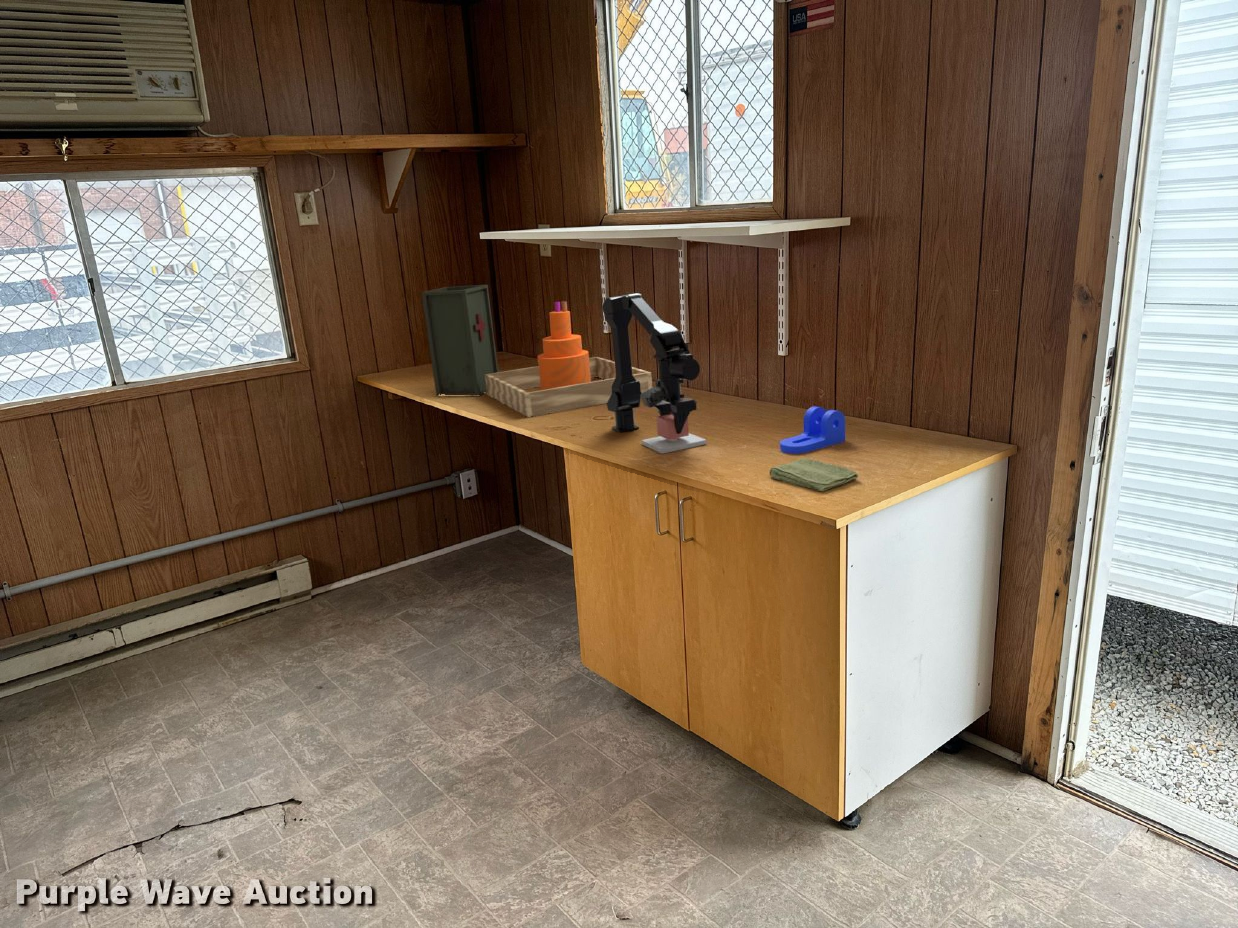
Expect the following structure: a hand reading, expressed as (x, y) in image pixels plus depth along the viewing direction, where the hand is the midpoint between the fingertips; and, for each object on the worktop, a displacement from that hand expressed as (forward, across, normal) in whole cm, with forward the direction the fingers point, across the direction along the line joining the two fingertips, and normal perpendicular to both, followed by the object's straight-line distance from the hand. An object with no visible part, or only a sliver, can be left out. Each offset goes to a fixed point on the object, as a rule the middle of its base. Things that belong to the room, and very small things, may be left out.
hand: (672, 431), depth 233 cm
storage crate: (+4, -85, +2) cm, 85 cm away
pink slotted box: (+1, 0, 0) cm, 1 cm away
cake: (+4, -85, +2) cm, 85 cm away
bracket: (+4, +25, +27) cm, 37 cm away
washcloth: (+4, +48, +11) cm, 49 cm away
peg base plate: (+4, 0, 0) cm, 4 cm away
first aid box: (+4, -122, -25) cm, 125 cm away
